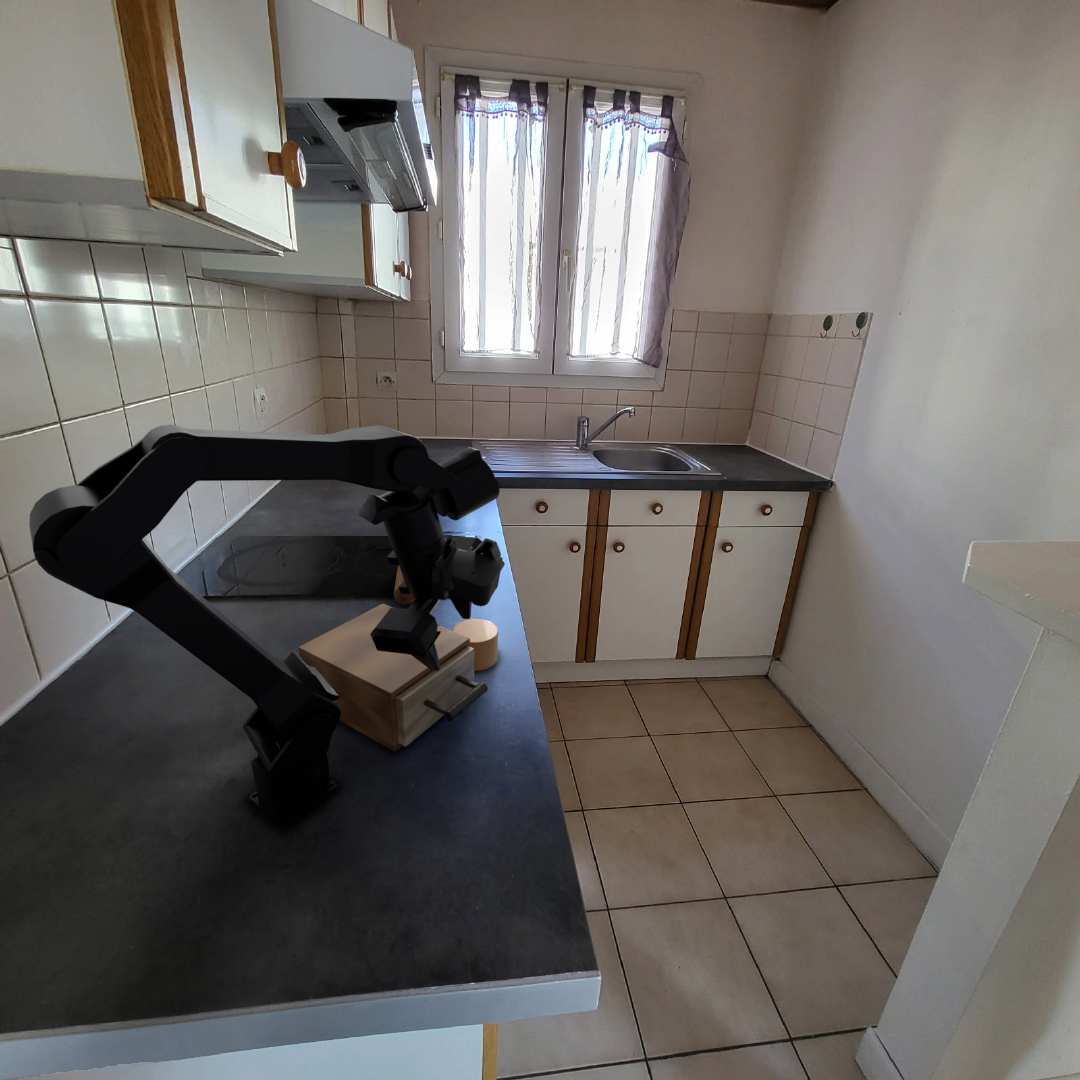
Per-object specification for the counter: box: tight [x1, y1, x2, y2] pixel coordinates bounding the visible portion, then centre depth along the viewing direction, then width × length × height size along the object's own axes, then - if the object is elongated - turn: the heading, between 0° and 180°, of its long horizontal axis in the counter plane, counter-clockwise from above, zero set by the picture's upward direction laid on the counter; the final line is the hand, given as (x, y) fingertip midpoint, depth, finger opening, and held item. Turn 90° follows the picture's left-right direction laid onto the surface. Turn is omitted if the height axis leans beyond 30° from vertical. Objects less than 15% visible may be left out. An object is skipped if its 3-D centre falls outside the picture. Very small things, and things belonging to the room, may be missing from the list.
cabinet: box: [297, 603, 470, 753], centre depth 75 cm, size 17×15×9 cm
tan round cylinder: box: [452, 618, 499, 672], centre depth 85 cm, size 7×7×5 cm
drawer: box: [396, 646, 489, 748], centre depth 73 cm, size 20×13×7 cm, turn 58°
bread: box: [393, 565, 415, 606], centre depth 107 cm, size 6×19×6 cm, turn 2°
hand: (451, 642), depth 70 cm, fingers open, 9 cm apart
